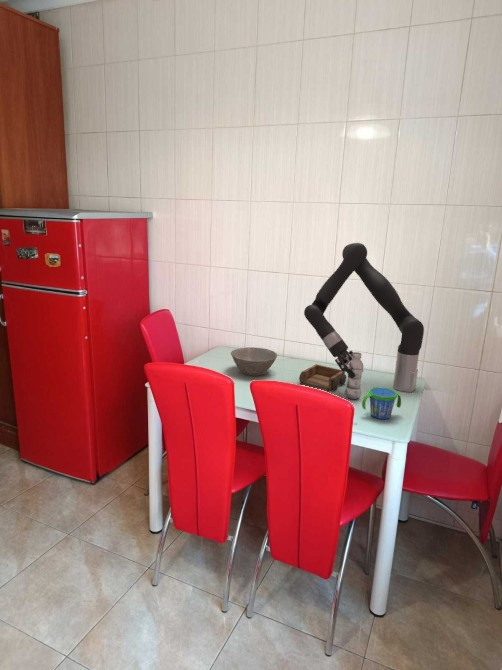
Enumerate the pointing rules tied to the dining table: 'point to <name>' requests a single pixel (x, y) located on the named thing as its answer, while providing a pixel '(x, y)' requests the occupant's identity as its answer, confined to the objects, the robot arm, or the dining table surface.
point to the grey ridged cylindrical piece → (354, 384)
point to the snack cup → (381, 402)
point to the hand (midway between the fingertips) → (357, 375)
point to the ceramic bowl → (253, 360)
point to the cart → (322, 377)
